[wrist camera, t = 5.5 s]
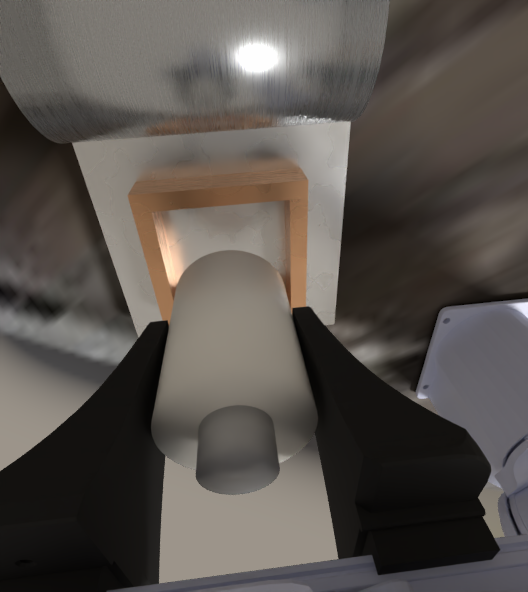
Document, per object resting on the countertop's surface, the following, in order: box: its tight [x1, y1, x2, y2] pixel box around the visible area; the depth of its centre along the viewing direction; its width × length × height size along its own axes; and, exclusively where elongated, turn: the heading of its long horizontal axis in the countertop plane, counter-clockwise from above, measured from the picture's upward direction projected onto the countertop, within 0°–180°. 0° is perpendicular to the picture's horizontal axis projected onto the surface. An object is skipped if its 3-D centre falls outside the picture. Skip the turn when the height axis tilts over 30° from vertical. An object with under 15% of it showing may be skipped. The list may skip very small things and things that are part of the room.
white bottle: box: [151, 250, 318, 495], centre depth 12 cm, size 4×4×7 cm
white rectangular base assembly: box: [0, 0, 389, 337], centre depth 16 cm, size 18×12×8 cm, turn 3°
